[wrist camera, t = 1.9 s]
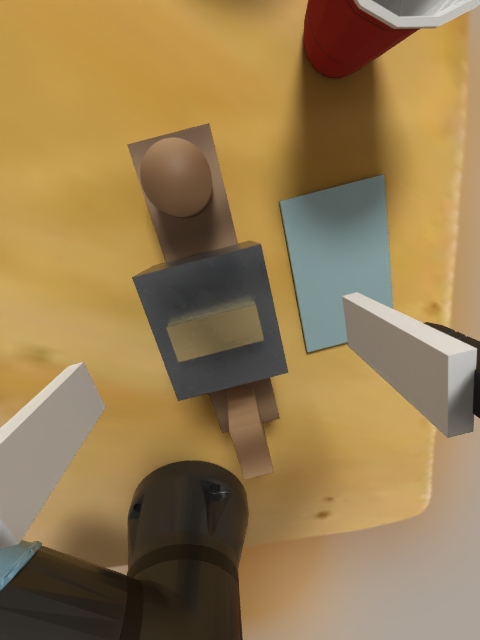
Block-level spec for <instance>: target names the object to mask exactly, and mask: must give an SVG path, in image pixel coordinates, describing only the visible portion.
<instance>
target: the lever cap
mask: <svg viewBox="0 0 480 640" xmlns="http://www.w3.org/2000/svg"><path fill="white" fill-rule="evenodd" d="M132 278H133V281H134V284H135V286H136V289H137V292H138V294H139V297H140V300H141V302H142V305H143V308H144V311H145V313H146V316H147V319H148V321H149V324H150V327H151V329H152V332H153V335H154V337H155V340H156V343H157V345H158V348H159V351H160V353H161V356H162V359H163V361H164V364H165V367H166V369H167V372H168V375H169V377H170V380H171V383H172V385H173V388H174V391H175V393H176V396H177V399H178V401H180V400H184V399H188V398H192V397H196V396H199V395H203V394H207V393H211V392H215V391H219V390H223V389H227V388H231V387H234V386H238V385H242V384H246V383H250V382H254V381H258V380H262V379H266V378H269V377H273V376H277V375H281V374H285V373H288V369H287V364H286V359H285V355H284V350H283V345H282V341H281V336H280V331H279V327H278V322H277V317H276V313H275V308H274V303H273V298H272V294H271V289H270V284H269V280H268V275H267V270H266V266H265V261H264V256H263V251H262V247H261V244H259V243H256V242H253V241H247V242H243V243H239V244H235V245H231V246H227V247H223V248H220V249H216V250H212V251H208V252H204V253H200V254H196V255H193V256H189V257H185V258H181V259H177V260H173V261H169V262H166V263H162V264H158V265H154V266H152V267H150V268H148V269H147V270H145V271H143V272H141V273H139V274H137V275H136V276H134V277H132Z"/></svg>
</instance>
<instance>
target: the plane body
mask: <svg viewBox="0 0 480 640" xmlns="http://www.w3.org/2000/svg"><path fill="white" fill-rule="evenodd" d="M128 148H129V151H130V154H131V157H132V160H133V163H134V166H135V169H136V172H137V176H138V179H139V182H140V185H141V188H142V191H143V194H144V197H145V200H146V203H147V206H148V209H149V212H150V215H151V218H152V221H153V224H154V227H155V230H156V233H157V236H158V240H159V243H160V246H161V249H162V252H163V255H164V258H165V261H166V262H169V261H173V260H177V259H181V258H185V257H189V256H193V255H196V254H200V253H204V252H208V251H212V250H216V249H220V248H223V247H227V246H231V245H235V244H238V242H237V238H236V234H235V229H234V225H233V221H232V217H231V213H230V209H229V204H228V200H227V196H226V192H225V188H224V183H223V179H222V175H221V171H220V167H219V163H218V158H217V154H216V150H215V146H214V142H213V137H212V133H211V129H210V125H209V123H208V124H204V125H201V126H197V127H193V128H189V129H185V130H181V131H178V132H174V133H170V134H166V135H162V136H158V137H155V138H151V139H147V140H143V141H139V142H135V143H132V144H128ZM209 395H210V398H211V401H212V404H213V407H214V410H215V413H216V416H217V419H218V422H219V426H220V429H221V432H222V433H225V432H229V431H230V434H231V438H232V441H233V444H234V447H235V450H236V453H237V457H238V460H239V463H240V466H241V469H242V472H243V476H244V479H245V480H246V479H250V478H254V477H258V476H262V475H265V474H269V473H273V472H274V471H273V467H272V462H271V458H270V454H269V449H268V445H267V441H266V436H265V432H264V428H263V423H264V422H268V421H272V420H276V419H280V418H279V413H278V409H277V405H276V401H275V397H274V393H273V388H272V384H271V380H270V377H269V378H266V379H262V380H258V381H254V382H250V383H246V384H242V385H238V386H234V387H231V388H227V389H223V390H219V391H215V392H211V393H209Z"/></svg>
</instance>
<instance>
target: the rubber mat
mask: <svg viewBox="0 0 480 640" xmlns="http://www.w3.org/2000/svg"><path fill="white" fill-rule="evenodd" d="M279 205H280V210H281V216H282V221H283V227H284V232H285V237H286V243H287V248H288V254H289V259H290V265H291V270H292V276H293V281H294V286H295V292H296V297H297V303H298V308H299V314H300V319H301V325H302V330H303V335H304V341H305V346H306V351H307V352H311V351H315V350H319V349H323V348H327V347H331V346H334V345H338V344H342V343H346V342H348V340H347V332H346V324H345V316H344V308H343V300H342V296H345V295H349V294H353V293H356V292H358V293H360V294H362V295H364V296H366V297H368V298H370V299H373V300H375V301H377V302H379V303H381V304H383V305H385V306H387V307H390V308H392V309H393V299H392V284H391V269H390V254H389V240H388V225H387V210H386V195H385V180H384V174H383V175H379V176H375V177H371V178H367V179H364V180H360V181H356V182H352V183H348V184H344V185H340V186H337V187H333V188H329V189H325V190H321V191H317V192H314V193H310V194H306V195H302V196H298V197H294V198H290V199H287V200H283V201H279Z"/></svg>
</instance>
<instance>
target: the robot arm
mask: <svg viewBox="0 0 480 640" xmlns="http://www.w3.org/2000/svg"><path fill="white" fill-rule="evenodd" d="M342 300H343V308H344V316H345V324H346V332H347V340H348V346H349V347H350V348H351V349H352V350H353V351H354V352H355V353H356V354H357V355H358V356H360V357H361V358H362V359H363V360H364V361H365V362H366V363H367V364H368V365H369V366H370V367H371V368H373V369H374V370H375V371H376V372H377V373H378V374H379V375H380V376H381V377H382V378H383V379H384V380H386V381H387V382H388V383H389V384H390V385H391V386H392V387H393V388H394V389H395V390H396V391H397V392H399V393H400V394H401V395H402V396H403V397H404V398H405V399H406V400H407V401H408V402H409V403H410V404H412V405H413V406H414V407H415V408H416V409H417V410H418V411H419V412H420V413H421V414H422V415H424V416H425V417H426V418H427V419H428V420H429V421H430V422H431V423H432V424H433V425H434V426H435V427H437V428H438V429H439V430H440V431H441V432H442V433H443V434H444V435H445V436H446V437H448V438H449V437H453V436H457V435H461V434H465V433H469V432H473V425H474V424H473V423H474V414H475V415H476V416H477V417H479V418H480V342H479V341H477V340H475V339H472V338H470V337H468V336H467V337H466V336H465V335H464V334H461V333H459V332H455V331H454V330H452V329H450V328H448V327H445V326H443V325H438V324H433V323H429V322H426V323H422V322H419V321H417V320H415V319H413V318H411V317H409V316H407V315H405V314H402V313H400V312H398V311H396V310H394V309H392V308H390V307H387V306H385V305H383V304H381V303H379V302H377V301H375V300H373V299H370V298H368V297H366V296H364V295H362V294H360V293H358V292H356V293H353V294H349V295H345V296H342ZM105 408H106V407H105V405H104V403H103V401H102V399H101V397H100V395H99V393H98V391H97V388H96V386H95V384H94V382H93V380H92V378H91V376H90V374H89V372H88V370H87V368H86V366H85V364H84V362H82V363H78V364H74V365H70V366H68V367H67V368H66V369H65V370H64V371H63V372H61V373H60V374H59V375H58V376H57V377H56V378H55V379H54V380H53V381H52V382H51V383H49V384H48V385H47V386H46V387H45V388H44V389H43V390H42V391H41V392H40V393H39V394H37V395H36V396H35V397H34V398H33V399H32V400H31V401H30V402H29V403H28V404H26V405H25V406H24V407H23V408H22V409H21V410H20V411H19V412H18V413H17V414H16V415H14V416H13V417H12V418H11V419H10V420H9V421H8V422H7V423H6V424H5V425H4V426H2V427H1V428H0V640H243V639H242V624H241V610H240V596H239V579H238V566H239V561H240V557H241V552H242V548H243V543H244V538H245V533H246V529H247V524H248V505H247V497H246V492H245V489H244V487H243V485H242V484H241V482H240V481H239V480H238V479H237V477H236V476H234V475H233V474H232V473H231V472H229V471H228V470H226V469H224V468H222V467H220V466H218V465H215V464H212V463H208V462H202V461H181V462H176V463H172V464H168V465H165V466H163V467H161V468H159V469H157V470H155V471H153V472H152V473H150V474H149V475H148V476H147V477H145V478H144V479H143V480H142V482H141V483H140V484H139V486H138V487H137V489H136V491H135V493H134V496H133V499H132V502H131V506H130V509H129V513H128V573H127V576H126V575H124V574H121V573H119V572H116V571H113V570H110V569H107V568H104V567H101V566H99V565H96V564H93V563H90V562H87V561H84V560H81V559H79V558H76V557H73V556H70V555H67V554H64V553H61V552H59V551H56V550H53V549H50V548H47V547H44V546H42V543H40V542H39V541H35V542H33V543H31V542H27V541H24V540H22V538H23V537H24V535H25V534H26V532H27V530H28V529H29V527H30V526H31V524H32V523H33V521H34V519H35V518H36V516H37V515H38V513H39V512H40V510H41V508H42V507H43V505H44V504H45V502H46V501H47V499H48V497H49V496H50V494H51V493H52V491H53V490H54V488H55V486H56V485H57V483H58V482H59V480H60V479H61V477H62V475H63V474H64V472H65V471H66V469H67V468H68V466H69V464H70V463H71V461H72V460H73V458H74V456H75V455H76V453H77V452H78V450H79V449H80V447H81V445H82V444H83V442H84V441H85V439H86V438H87V436H88V434H89V433H90V431H91V430H92V428H93V427H94V425H95V423H96V422H97V420H98V419H99V417H100V416H101V414H102V412H103V411H104V409H105Z"/></svg>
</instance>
